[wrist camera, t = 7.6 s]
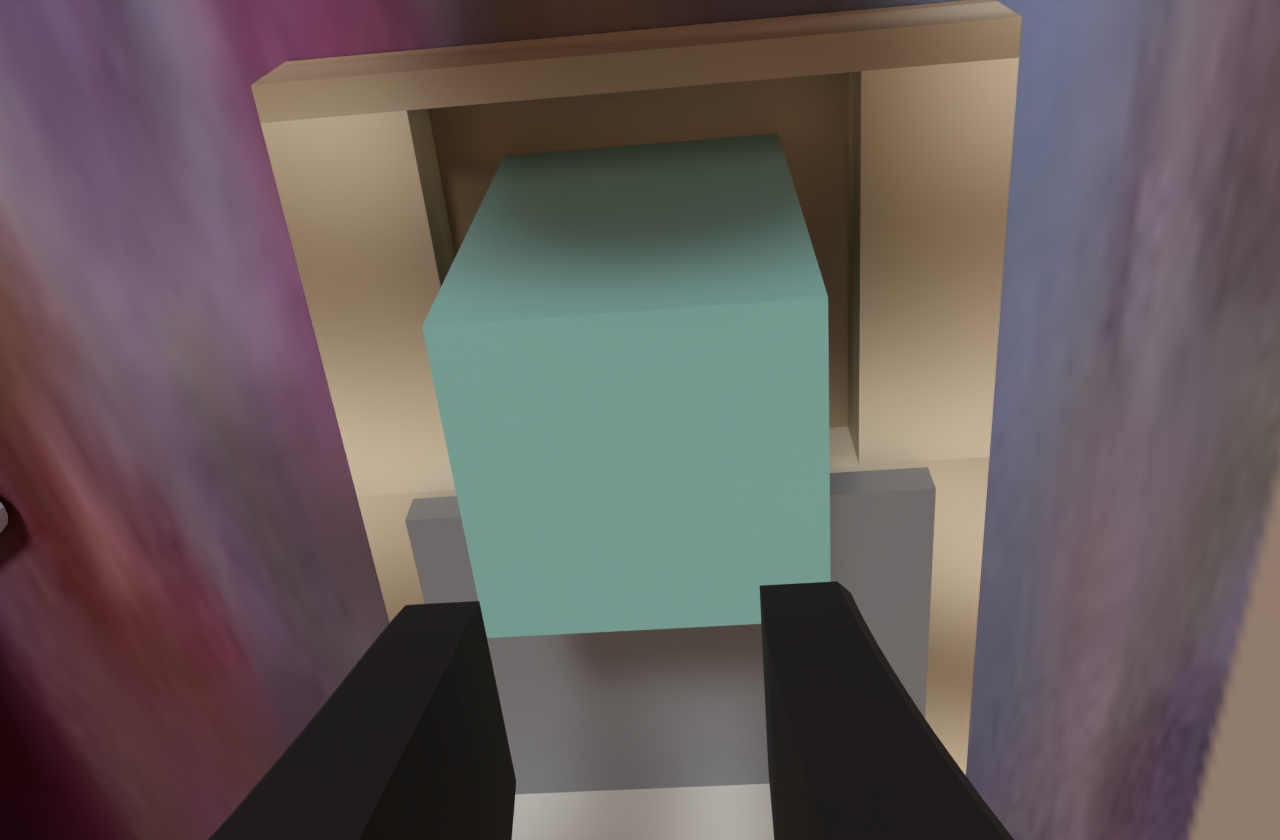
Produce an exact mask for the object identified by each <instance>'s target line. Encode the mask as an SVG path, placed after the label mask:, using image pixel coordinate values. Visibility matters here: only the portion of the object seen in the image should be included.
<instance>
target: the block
mask: <svg viewBox="0 0 1280 840" xmlns="http://www.w3.org/2000/svg"><path fill="white" fill-rule="evenodd" d="M422 329H423V334H424V339H425V344H426V349H427V354H428V358H429V363H430V368H431V373H432V378H433V383H434V388H435V392H436V397H437V402H438V407H439V412H440V417H441V422H442V426H443V431H444V436H445V441H446V446H447V451H448V456H449V461H450V465H451V470H452V475H453V480H454V485H455V490H456V495H457V499H458V504H459V509H460V514H461V519H462V524H463V529H464V533H465V538H466V543H467V548H468V553H469V558H470V563H471V567H472V572H473V577H474V582H475V587H476V592H477V597H478V601H479V602H480V607H481V611H482V616H483V621H484V626H485V631H486V636H487V638H499V637H518V636H537V635H556V634H576V633H595V632H614V631H633V630H652V629H671V628H690V627H709V626H728V625H747V624H761V607H760V585H779V584H797V583H815V582H831V578H830V460H829V341H828V295H827V292H826V289H825V285H824V282H823V279H822V276H821V272H820V269H819V266H818V262H817V259H816V256H815V253H814V249H813V246H812V243H811V240H810V236H809V233H808V230H807V226H806V223H805V220H804V217H803V213H802V210H801V207H800V203H799V200H798V197H797V194H796V190H795V187H794V184H793V180H792V177H791V174H790V171H789V167H788V164H787V161H786V158H785V154H784V151H783V148H782V144H781V141H780V138H779V135H778V133H774V134H762V135H750V136H738V137H726V138H714V139H702V140H690V141H678V142H666V143H654V144H642V145H630V146H618V147H605V148H593V149H581V150H569V151H557V152H545V153H533V154H521V155H509V156H504V157H503V159H502V161H501V163H500V165H499V167H498V170H497V172H496V174H495V176H494V178H493V180H492V182H491V184H490V186H489V188H488V190H487V192H486V195H485V197H484V199H483V201H482V203H481V205H480V207H479V209H478V211H477V213H476V215H475V217H474V220H473V222H472V224H471V226H470V228H469V230H468V232H467V234H466V236H465V238H464V240H463V242H462V245H461V247H460V249H459V251H458V253H457V255H456V257H455V259H454V261H453V263H452V265H451V267H450V269H449V272H448V274H447V276H446V278H445V280H444V282H443V284H442V286H441V288H440V290H439V292H438V294H437V297H436V299H435V301H434V303H433V305H432V307H431V309H430V311H429V313H428V315H427V317H426V319H425V322H424V324H423V326H422Z"/></svg>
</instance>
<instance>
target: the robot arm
mask: <svg viewBox="0 0 1280 840" xmlns="http://www.w3.org/2000/svg"><path fill="white" fill-rule="evenodd" d="M7 524H8V514H7V512H6V510H5V507H4V506H3V505H2V504H1V502H0V533H1V532H2V531H3V530H4V528H5V527H6V525H7ZM760 607H761V628H762V648H763V669H764V690H765V711H766V732H767V753H768V773H769V784H770V796H771V808H772V820H773V832H774V840H1014V839H1013V838H1012V836H1011V835H1010V834H1009V833H1008V831H1007V830H1006V829H1005V827H1004V826H1003V825H1002V823H1001V822H1000V821H999V820H998V818H997V817H996V816H995V814H994V813H993V812H992V811H991V809H990V808H989V807H988V805H987V804H986V803H985V801H984V800H983V799H982V797H981V796H980V795H979V793H978V792H977V791H976V789H975V788H974V786H973V785H972V784H971V782H970V781H969V780H968V778H967V777H966V775H965V774H964V773H963V771H962V770H961V768H960V767H959V766H958V764H957V763H956V762H955V760H954V759H953V757H952V756H951V755H950V753H949V752H948V750H947V749H946V748H945V746H944V745H943V744H942V742H941V741H940V739H939V738H938V737H937V735H936V734H935V733H934V731H933V730H932V728H931V727H930V725H929V724H928V722H927V721H926V719H925V718H924V716H923V715H922V713H921V712H920V710H919V709H918V708H917V706H916V705H915V703H914V701H913V700H912V698H911V697H910V695H909V694H908V692H907V691H906V689H905V687H904V686H903V684H902V683H901V681H900V680H899V678H898V676H897V675H896V673H895V672H894V670H893V669H892V667H891V665H890V664H889V662H888V660H887V659H886V657H885V655H884V654H883V652H882V650H881V649H880V647H879V645H878V644H877V642H876V640H875V638H874V637H873V635H872V633H871V631H870V630H869V628H868V626H867V624H866V622H865V620H864V618H863V616H862V614H861V613H860V611H859V609H858V607H857V605H856V603H855V600H854V598H853V596H852V594H851V592H849V591H848V590H847V589H846V588H845V587H843V586H842V585H841V584H840V583H839V582H837V581H834V582H815V583H797V584H779V585H760ZM515 793H516V777H515V772H514V768H513V763H512V758H511V753H510V748H509V743H508V738H507V733H506V729H505V724H504V719H503V714H502V709H501V704H500V699H499V694H498V689H497V685H496V680H495V675H494V670H493V665H492V660H491V655H490V650H489V646H488V641H487V636H486V631H485V626H484V621H483V616H482V611H481V607H480V602H479V601H468V602H450V603H432V604H413V605H405V606H404V607H403V608H402V610H401V611H400V612H399V613H398V614H397V615H396V616H395V617H394V618H393V620H392V621H391V622H390V623H389V624H388V626H387V627H386V628H385V629H384V630H383V632H382V633H381V634H380V635H379V637H378V638H377V639H376V640H375V642H374V643H373V644H372V645H371V647H370V648H369V649H368V650H367V652H366V653H365V654H364V655H363V656H362V658H361V659H360V660H359V661H358V663H357V664H356V665H355V667H354V668H353V669H352V670H351V672H350V673H349V674H348V675H347V677H346V678H345V679H344V680H343V681H342V683H341V684H340V685H339V686H338V688H337V689H336V690H335V691H334V693H333V694H332V695H331V696H330V698H329V699H328V700H327V701H326V702H325V704H324V705H323V706H322V707H321V709H320V710H319V711H318V712H317V714H316V715H315V716H314V717H313V718H312V720H311V721H310V722H309V723H308V725H307V726H306V727H305V728H304V729H303V731H302V732H301V733H300V734H299V735H298V737H297V738H296V739H295V740H294V741H293V743H292V744H291V745H290V746H289V747H288V748H287V750H286V751H285V752H284V753H283V754H282V755H281V757H280V758H279V759H278V760H277V761H276V762H275V764H274V765H273V766H272V767H271V768H270V770H269V771H268V772H267V773H266V774H265V775H264V777H263V778H262V779H261V780H260V781H259V782H258V784H257V785H256V786H255V787H254V788H253V789H252V791H251V792H250V793H249V794H248V795H247V797H246V798H245V799H244V800H243V801H242V802H241V804H240V805H239V806H238V807H237V808H236V809H235V810H234V812H233V813H232V814H231V815H230V816H229V817H228V818H227V820H226V821H225V822H224V823H223V824H222V825H221V826H220V827H219V828H218V830H217V831H216V832H215V833H214V834H213V835H212V836H211V837H210V838H209V839H208V840H512V829H513V817H514V805H515Z"/></svg>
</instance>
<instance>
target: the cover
mask: <svg viewBox="0 0 1280 840" xmlns="http://www.w3.org/2000/svg"><path fill="white" fill-rule="evenodd" d="M935 497H936V487H935V485H934V482H933V479H932V477H931V474H930V471H929V469H928V467H921V468H904V469H888V470H872V471H856V472H839V473H830V578H831V582H834V581H837V582H839V583H840V584H841V585H842V586H843V587H845V588H846V589H847V590H848V591H849V592H851V594H852V596H853V598H854V600H855V603H856V605H857V607H858V609H859V611H860V613H861V614H862V616H863V618H864V620H865V622H866V624H867V626H868V628H869V630H870V631H871V633H872V635H873V637H874V638H875V640H876V642H877V644H878V645H879V647H880V649H881V650H882V652H883V654H884V655H885V657H886V659H887V660H888V662H889V664H890V665H891V667H892V669H893V670H894V672H895V673H896V675H897V676H898V678H899V680H900V681H901V683H902V684H903V686H904V687H905V689H906V691H907V692H908V694H909V695H910V697H911V698H912V700H913V701H914V703H915V705H916V706H917V708H918V709H919V710H920V712H921V713H922V715H923V716H924V718H925V708H926V687H927V666H928V645H929V624H930V603H931V582H932V561H933V540H934V519H935ZM405 522H406V527H407V531H408V535H409V539H410V544H411V548H412V552H413V556H414V560H415V565H416V569H417V573H418V577H419V582H420V586H421V590H422V594H423V599H424V603H425V604H432V603H450V602H468V601H478V597H477V592H476V587H475V582H474V577H473V572H472V567H471V563H470V558H469V553H468V548H467V543H466V538H465V533H464V529H463V524H462V519H461V514H460V509H459V504H458V499H457V496H449V497H433V498H417V499H413V501H412V503H411V506H410V509H409V511H408V514H407V517H406V519H405ZM487 641H488V646H489V650H490V655H491V660H492V665H493V670H494V675H495V680H496V685H497V689H498V694H499V699H500V704H501V709H502V714H503V719H504V724H505V729H506V733H507V738H508V743H509V748H510V753H511V758H512V763H513V768H514V772H515V777H516V793H515V805H514V817H513V829H512V840H774V832H773V820H772V808H771V796H770V784H769V773H768V753H767V732H766V711H765V690H764V669H763V648H762V628H761V624H747V625H728V626H709V627H690V628H671V629H652V630H633V631H614V632H595V633H576V634H556V635H537V636H518V637H499V638H487Z"/></svg>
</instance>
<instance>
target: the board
mask: <svg viewBox="0 0 1280 840" xmlns="http://www.w3.org/2000/svg"><path fill="white" fill-rule="evenodd" d="M1021 25H1022V16H1020V15H1019V14H1017V13H1015V12H1014V11H1012V10H1011V9H1009V8H1007V7H1006V6H1004V5H1003V4H1001V3H1000V2H998V1H996V0H964V1H953V2H942V3H931V4H919V5H908V6H897V7H886V8H875V9H864V10H853V11H842V12H831V13H820V14H809V15H798V16H786V17H775V18H764V19H753V20H742V21H731V22H720V23H709V24H698V25H687V26H676V27H665V28H653V29H642V30H631V31H620V32H609V33H598V34H587V35H576V36H565V37H554V38H543V39H531V40H520V41H509V42H498V43H487V44H476V45H465V46H454V47H443V48H432V49H421V50H410V51H398V52H387V53H376V54H365V55H354V56H343V57H332V58H321V59H310V60H299V61H288V62H285V63H283V64H282V65H280V66H279V67H277V68H276V69H274V70H273V71H271V72H270V73H268V74H267V75H265V76H264V77H262V78H261V79H259V80H258V81H256V82H255V83H253V84H252V85H251V88H252V92H253V96H254V99H255V103H256V107H257V111H258V115H259V119H260V123H261V127H262V130H263V134H264V138H265V142H266V146H267V150H268V154H269V158H270V161H271V165H272V169H273V173H274V177H275V181H276V185H277V189H278V192H279V196H280V200H281V204H282V208H283V212H284V216H285V219H286V223H287V227H288V231H289V235H290V239H291V243H292V247H293V250H294V254H295V258H296V262H297V266H298V270H299V274H300V278H301V281H302V285H303V289H304V293H305V297H306V301H307V305H308V308H309V312H310V316H311V320H312V324H313V328H314V332H315V336H316V339H317V343H318V347H319V351H320V355H321V359H322V363H323V367H324V370H325V374H326V378H327V382H328V386H329V390H330V394H331V397H332V401H333V405H334V409H335V413H336V417H337V421H338V425H339V428H340V432H341V436H342V440H343V444H344V448H345V452H346V456H347V459H348V463H349V467H350V471H351V475H352V479H353V483H354V487H355V490H356V494H357V498H358V502H359V506H360V510H361V514H362V517H363V521H364V525H365V529H366V533H367V537H368V541H369V545H370V548H371V552H372V556H373V560H374V564H375V568H376V572H377V576H378V579H379V583H380V587H381V591H382V595H383V599H384V603H385V606H386V610H387V614H388V618H389V622H391V621H392V620H393V618H394V617H395V616H396V615H397V614H398V613H399V612H400V611H401V610H402V608H403V607H404V606H405V605H413V604H425V603H424V599H423V594H422V590H421V586H420V582H419V577H418V573H417V569H416V565H415V560H414V556H413V552H412V548H411V544H410V539H409V535H408V531H407V527H406V522H405V519H406V517H407V514H408V511H409V509H410V506H411V503H412V501H413V499H417V498H433V497H449V496H457V495H456V490H455V485H454V480H453V475H452V470H451V465H450V461H449V456H448V451H447V446H446V441H445V436H444V431H443V426H442V422H441V417H440V412H439V407H438V402H437V397H436V392H435V388H434V383H433V378H432V373H431V368H430V363H429V358H428V354H427V349H426V344H425V339H424V334H423V329H422V326H423V324H424V322H425V319H426V317H427V315H428V313H429V311H430V309H431V307H432V305H433V303H434V301H435V299H436V297H437V294H438V292H439V290H440V288H441V286H442V284H443V282H444V280H445V278H446V276H447V274H448V272H449V269H450V267H451V265H452V263H453V261H454V259H455V257H456V255H457V253H458V251H459V249H460V247H461V245H462V242H463V240H464V238H465V236H466V234H467V232H468V230H469V228H470V226H471V224H472V222H473V220H474V217H475V215H476V213H477V211H478V209H479V207H480V205H481V203H482V201H483V199H484V197H485V195H486V192H487V190H488V188H489V186H490V184H491V182H492V180H493V178H494V176H495V174H496V172H497V170H498V167H499V165H500V163H501V161H502V159H503V157H504V156H509V155H521V154H533V153H545V152H557V151H569V150H581V149H593V148H605V147H618V146H630V145H642V144H654V143H666V142H678V141H690V140H702V139H714V138H726V137H738V136H750V135H762V134H774V133H778V135H779V138H780V141H781V144H782V148H783V151H784V154H785V158H786V161H787V164H788V167H789V171H790V174H791V177H792V180H793V184H794V187H795V190H796V194H797V197H798V200H799V203H800V207H801V210H802V213H803V217H804V220H805V223H806V226H807V230H808V233H809V236H810V240H811V243H812V246H813V249H814V253H815V256H816V259H817V262H818V266H819V269H820V272H821V276H822V279H823V282H824V285H825V289H826V292H827V295H828V341H829V460H830V473H839V472H856V471H872V470H888V469H904V468H921V467H928V469H929V471H930V474H931V477H932V479H933V482H934V485H935V487H936V497H935V519H934V540H933V561H932V582H931V603H930V624H929V645H928V666H927V687H926V708H925V719H926V721H927V722H928V724H929V725H930V727H931V728H932V730H933V731H934V733H935V734H936V735H937V737H938V738H939V739H940V741H941V742H942V744H943V745H944V746H945V748H946V749H947V750H948V752H949V753H950V755H951V756H952V757H953V759H954V760H955V762H956V763H957V764H958V766H959V767H960V768H961V770H962V771H963V773H964V774H965V775H966V765H967V751H968V738H969V724H970V711H971V697H972V684H973V670H974V657H975V644H976V630H977V617H978V603H979V590H980V576H981V563H982V549H983V536H984V522H985V509H986V496H987V482H988V469H989V455H990V442H991V428H992V415H993V401H994V388H995V374H996V361H997V348H998V334H999V321H1000V307H1001V294H1002V280H1003V267H1004V253H1005V240H1006V227H1007V213H1008V200H1009V186H1010V173H1011V159H1012V146H1013V132H1014V119H1015V105H1016V92H1017V79H1018V65H1019V52H1020V38H1021Z"/></svg>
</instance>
